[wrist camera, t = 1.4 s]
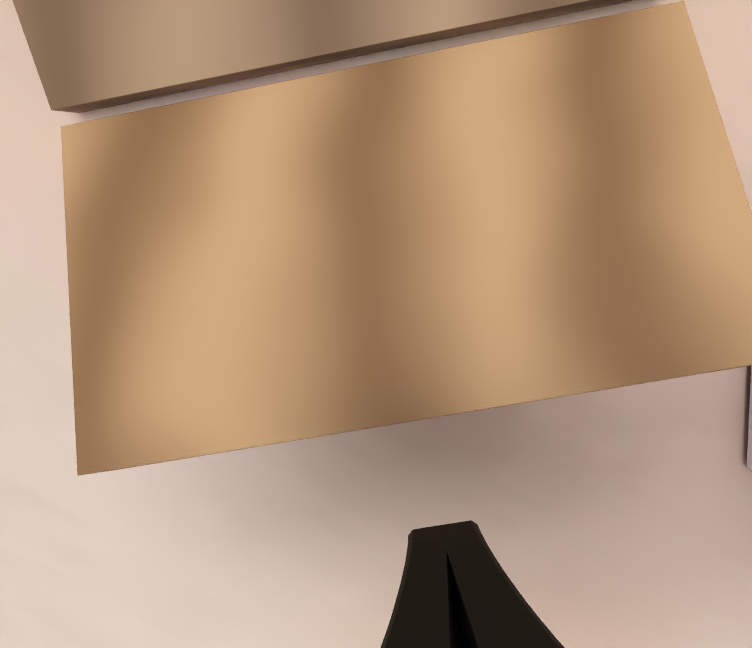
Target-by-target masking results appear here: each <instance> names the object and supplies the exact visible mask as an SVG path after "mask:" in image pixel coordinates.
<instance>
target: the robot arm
mask: <svg viewBox="0 0 752 648" xmlns="http://www.w3.org/2000/svg"><path fill="white" fill-rule="evenodd" d="M747 466H748V468H749V469H750V470H751V471H752V365H751V386H750V407H749V429H748V451H747ZM462 639H463V640H462ZM381 648H564V647H563V646H562V644H561V643H560V642H559V641H558V640H557V639H556V638H555V636H554V635H553V634H552V633H551V632H550V630H549V629H548V628H547V627H546V626H545V624H544V623H543V622H542V621H541V620H540V618H539V617H538V616H537V615H536V614H535V612H534V611H533V610H532V608H531V607H530V606H529V605H528V603H527V602H526V601H525V599H524V598H523V597H522V595H521V594H520V593H519V591H518V590H517V589H516V587H515V586H514V584H513V583H512V582H511V580H510V579H509V578H508V576H507V575H506V573H505V572H504V570H503V569H502V567H501V566H500V564H499V563H498V561H497V560H496V558H495V557H494V555H493V553H492V552H491V550H490V548H489V547H488V545H487V543H486V541H485V540H484V538H483V536H482V534H481V532H480V530H479V527H478V525H477V524H476V523H474V522H473V521H464V522H458V523H452V524H445V525H439V526H433V527H426V528H420V529H414V530H412V531H411V533H410V534H409V535H408V548H407V555H406V561H405V566H404V571H403V575H402V580H401V584H400V588H399V591H398V595H397V598H396V602H395V606H394V609H393V613H392V616H391V619H390V623H389V625H388V628H387V631H386V634H385V637H384V640H383V643H382V645H381Z"/></svg>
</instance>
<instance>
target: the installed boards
mask: <svg viewBox="0 0 752 648" xmlns="http://www.w3.org/2000/svg"><path fill="white" fill-rule="evenodd" d="M626 1H631V0H13V3H14V5H15V8H16V11H17V14H18V17H19V20H20V22H21V25H22V28H23V31H24V34H25V37H26V39H27V42H28V45H29V48H30V51H31V54H32V56H33V59H34V62H35V65H36V68H37V71H38V74H39V76H40V79H41V82H42V85H43V88H44V91H45V93H46V96H47V99H48V102H49V105H50V108H51V110H55V111H66V112H76V113H80V112H85V111H89V110H94V109H99V108H104V107H109V106H114V105H119V104H124V103H129V102H134V101H139V100H144V99H149V98H153V97H158V96H163V95H168V94H173V93H178V92H183V91H188V90H193V89H198V88H203V87H208V86H213V85H217V84H222V83H227V82H232V81H237V80H242V79H247V78H252V77H257V76H262V75H267V74H272V73H277V72H281V71H286V70H291V69H296V68H301V67H306V66H311V65H316V64H321V63H326V62H331V61H336V60H340V59H345V58H350V57H355V56H360V55H365V54H370V53H375V52H380V51H385V50H390V49H395V48H400V47H404V46H409V45H414V44H419V43H424V42H429V41H434V40H439V39H444V38H449V37H454V36H459V35H464V34H468V33H473V32H478V31H483V30H488V29H493V28H498V27H503V26H508V25H513V24H518V23H523V22H528V21H532V20H537V19H542V18H547V17H552V16H557V15H562V14H567V13H572V12H577V11H582V10H587V9H592V8H596V7H601V6H606V5H611V4H616V3H621V2H626Z"/></svg>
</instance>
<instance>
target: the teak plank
mask: <svg viewBox="0 0 752 648" xmlns="http://www.w3.org/2000/svg"><path fill="white" fill-rule="evenodd" d="M61 137H62V158H63V179H64V200H65V221H66V242H67V263H68V284H69V305H70V326H71V347H72V368H73V389H74V410H75V431H76V452H77V473H78V475H84V474H91V473H98V472H105V471H112V470H118V469H124V468H130V467H136V466H142V465H149V464H155V463H161V462H167V461H173V460H179V459H185V458H191V457H197V456H203V455H209V454H215V453H222V452H228V451H234V450H240V449H246V448H252V447H258V446H264V445H270V444H276V443H282V442H288V441H295V440H301V439H307V438H313V437H319V436H325V435H331V434H337V433H343V432H349V431H355V430H361V429H368V428H374V427H380V426H386V425H392V424H398V423H404V422H410V421H416V420H422V419H428V418H434V417H441V416H447V415H453V414H459V413H465V412H471V411H477V410H483V409H489V408H495V407H501V406H507V405H514V404H520V403H526V402H532V401H538V400H544V399H550V398H556V397H562V396H568V395H574V394H580V393H587V392H593V391H599V390H605V389H611V388H617V387H623V386H629V385H635V384H641V383H647V382H653V381H660V380H666V379H672V378H678V377H684V376H690V375H696V374H702V373H708V372H714V371H720V370H726V369H733V368H739V367H745V366H751V365H752V213H751V210H750V207H749V204H748V200H747V197H746V194H745V191H744V188H743V185H742V182H741V179H740V175H739V172H738V169H737V166H736V163H735V160H734V157H733V154H732V150H731V147H730V144H729V141H728V138H727V135H726V132H725V129H724V125H723V122H722V119H721V116H720V113H719V110H718V107H717V104H716V100H715V97H714V94H713V91H712V88H711V85H710V82H709V79H708V75H707V72H706V69H705V66H704V63H703V60H702V57H701V53H700V50H699V47H698V44H697V41H696V38H695V35H694V32H693V28H692V25H691V22H690V19H689V16H688V13H687V10H686V7H685V3H684V1H681V2H676V3H671V4H666V5H661V6H656V7H651V8H646V9H641V10H636V11H631V12H626V13H621V14H616V15H612V16H607V17H602V18H597V19H592V20H587V21H582V22H577V23H572V24H567V25H562V26H557V27H552V28H547V29H542V30H537V31H532V32H527V33H522V34H517V35H513V36H508V37H503V38H498V39H493V40H488V41H483V42H478V43H473V44H468V45H463V46H458V47H453V48H448V49H443V50H438V51H433V52H428V53H423V54H418V55H414V56H409V57H404V58H399V59H394V60H389V61H384V62H379V63H374V64H369V65H364V66H359V67H354V68H349V69H344V70H339V71H334V72H329V73H324V74H320V75H315V76H310V77H305V78H300V79H295V80H290V81H285V82H280V83H275V84H270V85H265V86H260V87H255V88H250V89H245V90H240V91H235V92H230V93H225V94H221V95H216V96H211V97H206V98H201V99H196V100H191V101H186V102H181V103H176V104H171V105H166V106H161V107H156V108H151V109H146V110H141V111H136V112H131V113H126V114H122V115H117V116H112V117H107V118H102V119H97V120H92V121H87V122H82V123H77V124H72V125H67V126H62V127H61Z"/></svg>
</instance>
